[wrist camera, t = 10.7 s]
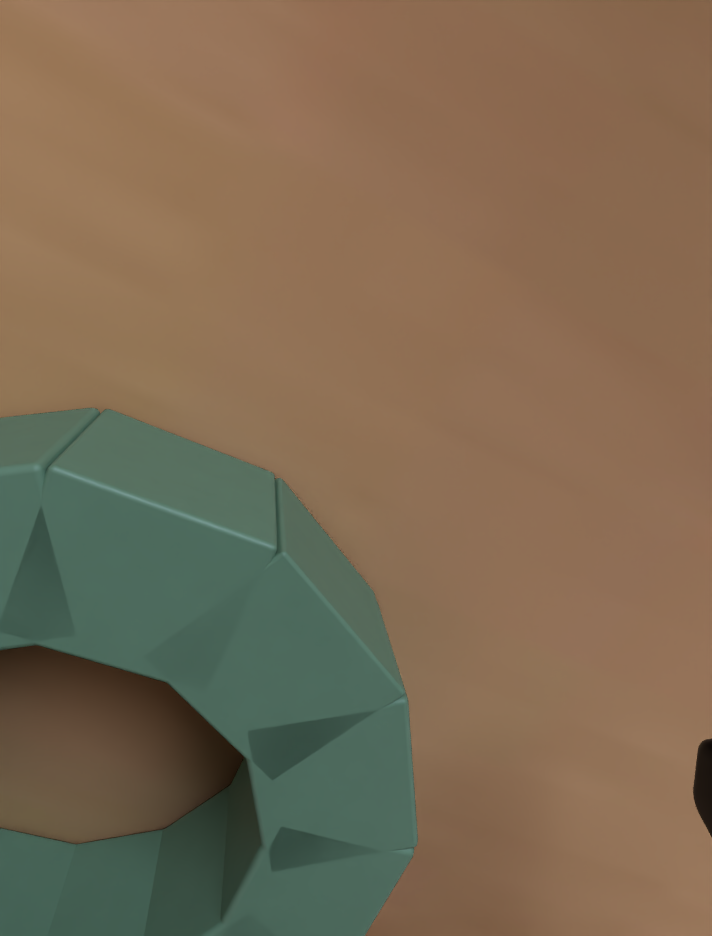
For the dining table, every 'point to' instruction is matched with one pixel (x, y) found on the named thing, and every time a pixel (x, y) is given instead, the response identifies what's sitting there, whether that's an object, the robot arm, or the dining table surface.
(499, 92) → the dining table surface
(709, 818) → the robot arm
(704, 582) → the dining table surface
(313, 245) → the dining table surface
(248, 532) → the sage ring
